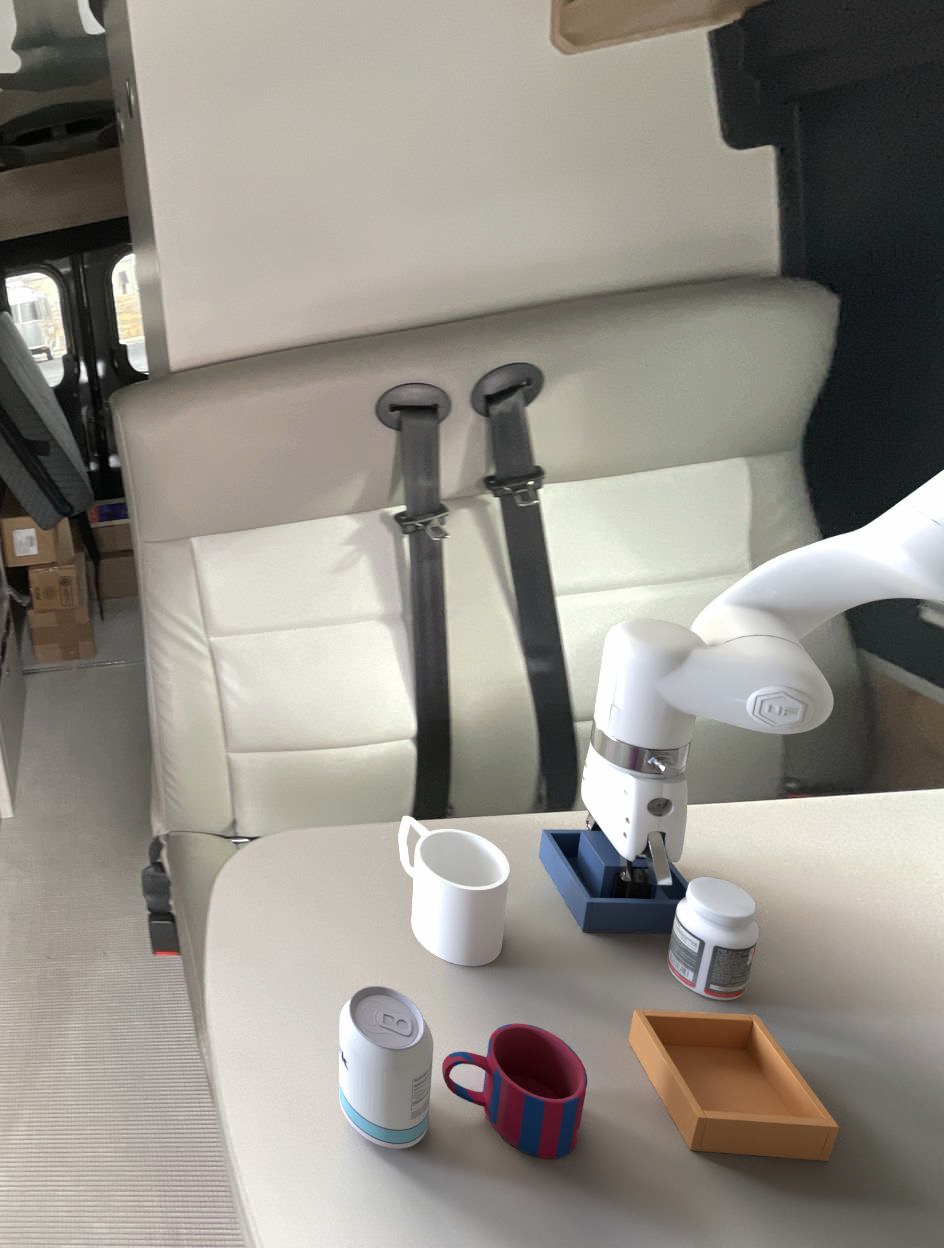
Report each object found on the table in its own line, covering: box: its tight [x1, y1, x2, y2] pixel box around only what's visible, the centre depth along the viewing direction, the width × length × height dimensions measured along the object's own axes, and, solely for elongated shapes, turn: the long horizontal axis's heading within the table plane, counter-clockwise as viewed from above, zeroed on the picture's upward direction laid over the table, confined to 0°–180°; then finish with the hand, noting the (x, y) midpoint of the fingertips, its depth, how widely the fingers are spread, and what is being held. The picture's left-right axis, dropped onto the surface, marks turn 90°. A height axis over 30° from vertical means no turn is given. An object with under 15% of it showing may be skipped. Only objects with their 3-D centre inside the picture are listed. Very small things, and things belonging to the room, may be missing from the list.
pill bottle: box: [666, 876, 759, 1001], centre depth 76 cm, size 6×6×10 cm
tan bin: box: [627, 1008, 840, 1162], centre depth 68 cm, size 9×9×4 cm
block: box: [576, 831, 658, 899], centre depth 86 cm, size 5×5×5 cm
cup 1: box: [397, 815, 511, 967], centre depth 86 cm, size 8×12×10 cm
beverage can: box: [338, 985, 434, 1150], centre depth 69 cm, size 7×7×12 cm
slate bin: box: [538, 828, 689, 935], centre depth 87 cm, size 10×10×4 cm
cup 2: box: [441, 1022, 588, 1160], centre depth 69 cm, size 7×10×7 cm
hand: (614, 881), depth 87 cm, fingers closed on block, 5 cm apart
